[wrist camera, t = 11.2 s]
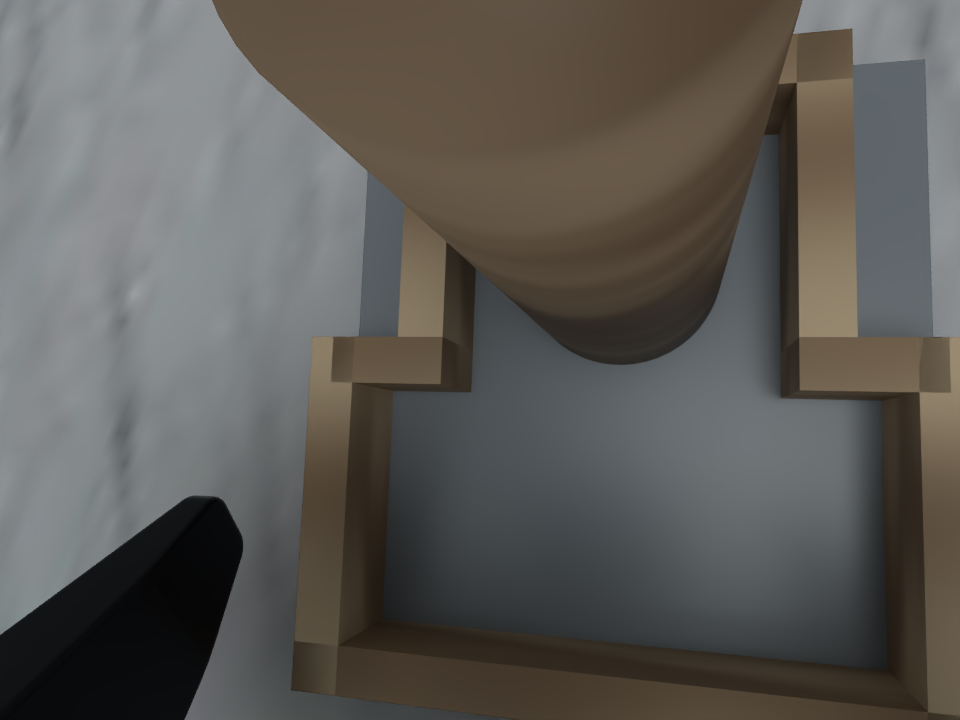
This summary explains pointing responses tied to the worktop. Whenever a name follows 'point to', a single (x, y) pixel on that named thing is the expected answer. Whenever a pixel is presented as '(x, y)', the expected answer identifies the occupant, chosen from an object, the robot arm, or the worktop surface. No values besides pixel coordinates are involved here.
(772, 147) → the keyhole plate
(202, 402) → the worktop surface
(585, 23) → the walnut peg
